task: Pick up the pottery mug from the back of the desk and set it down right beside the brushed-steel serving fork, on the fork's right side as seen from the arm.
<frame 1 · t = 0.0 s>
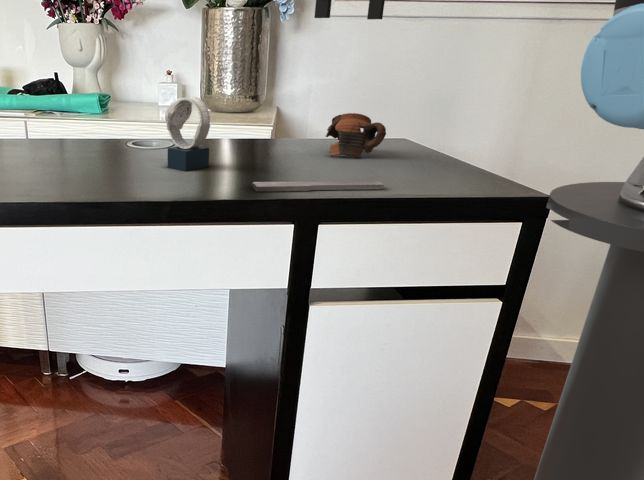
hand: (349, 19, 108), 23 cm above the table, tool pointing down, fingers open, 13 cm apart
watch: (187, 168, 107), on the table
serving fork: (328, 188, 93), on the table
pottery mug: (352, 155, 119), on the table
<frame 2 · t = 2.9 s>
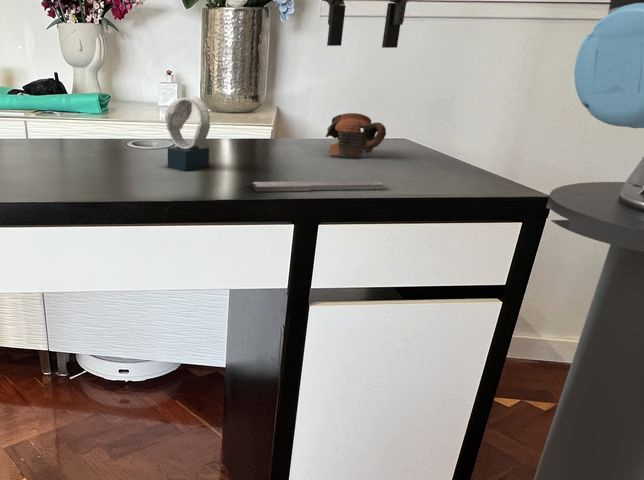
hand: (360, 46, 111), 18 cm above the table, tool pointing down, fingers open, 13 cm apart
nothing on the table moved.
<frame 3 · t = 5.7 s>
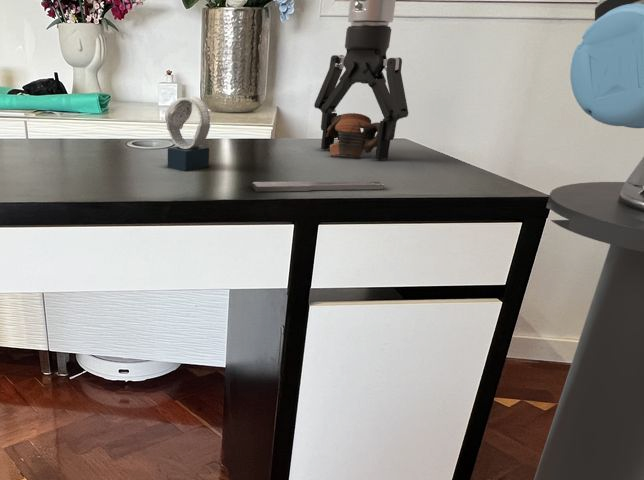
hand: (353, 153, 119), 0 cm above the table, tool pointing down, fingers open, 12 cm apart
pottery mug: (352, 155, 119), on the table, touching gripper
everything else where it was.
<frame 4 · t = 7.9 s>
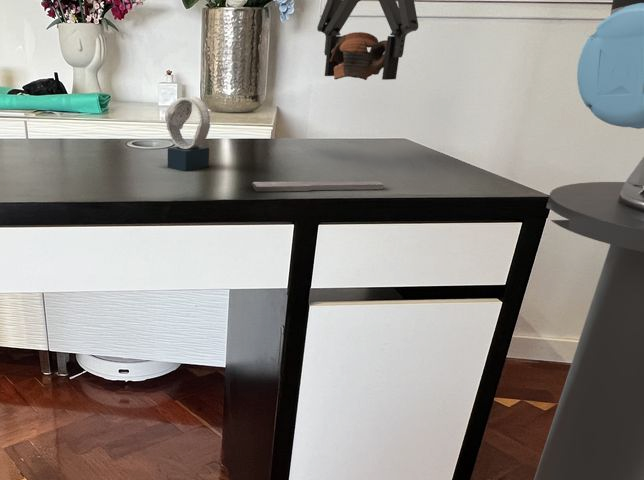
hand: (358, 77, 111), 13 cm above the table, tool pointing down, fingers closed on pottery mug, 12 cm apart
pottery mug: (358, 80, 111), point 13 cm above the table, touching gripper
everything else where it was.
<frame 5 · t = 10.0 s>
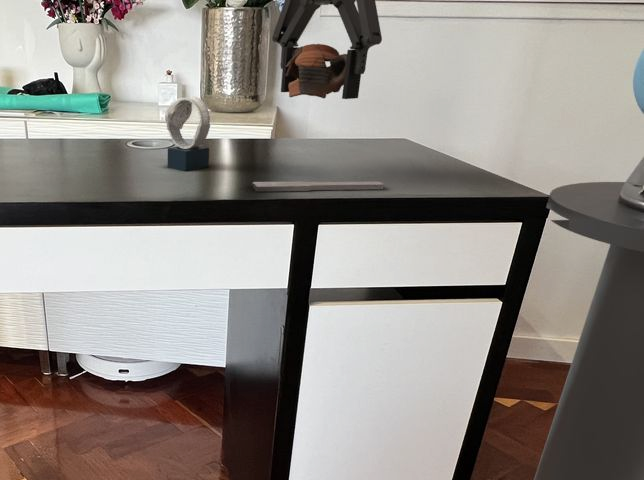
hand: (317, 95, 98), 12 cm above the table, tool pointing down, fingers closed on pottery mug, 12 cm apart
pottery mug: (317, 97, 98), point 11 cm above the table, touching gripper
everything else where it was.
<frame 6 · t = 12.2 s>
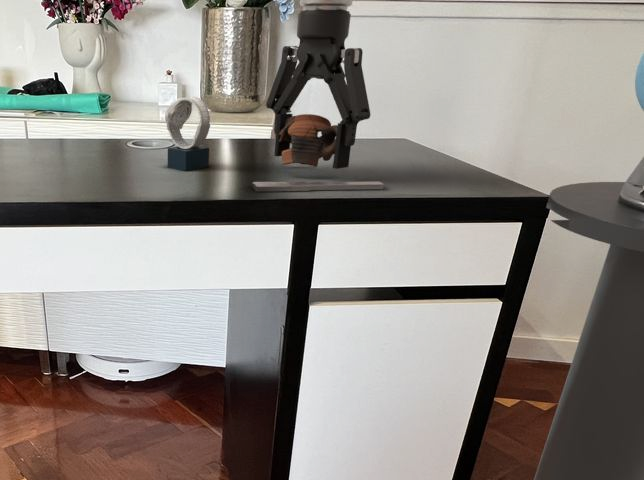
hand: (309, 161, 102), 2 cm above the table, tool pointing down, fingers closed on pottery mug, 12 cm apart
pottery mug: (309, 163, 102), point 2 cm above the table, touching gripper
everything else where it was.
when the fingers open (0 cm above the table, at t = 13.4 s): pottery mug stays where it is, on the table.
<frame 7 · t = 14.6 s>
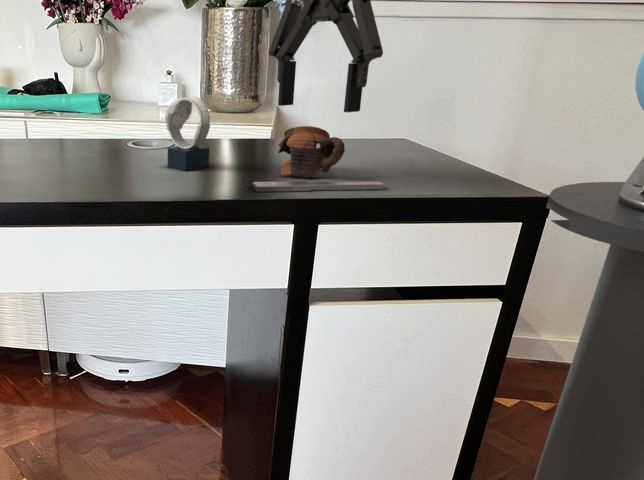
hand: (317, 108, 98), 10 cm above the table, tool pointing down, fingers open, 13 cm apart
pottery mug: (308, 175, 103), on the table
everything else where it was.
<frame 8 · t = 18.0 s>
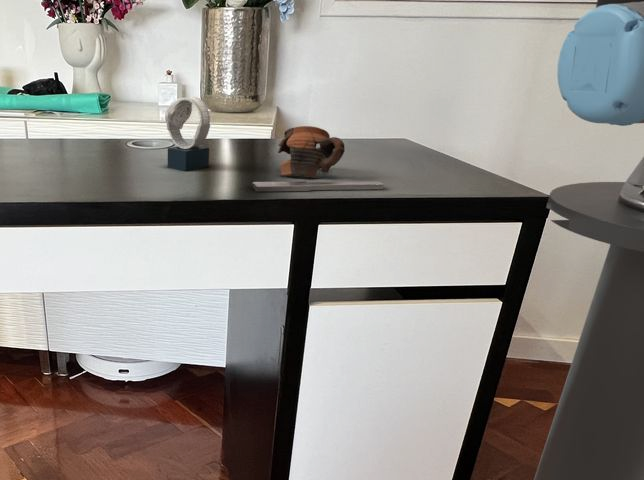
nothing on the table moved.
at the end: pottery mug inside the target area on the table beside the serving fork (0.4 cm from its centre), on the table; pottery mug tilted 0°; the gripper is holding nothing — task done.
